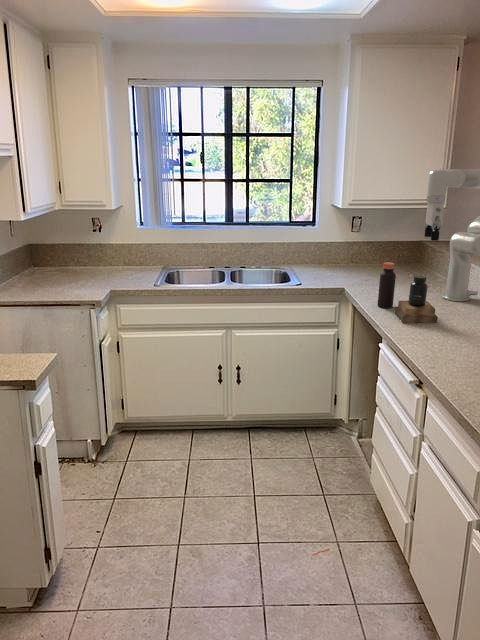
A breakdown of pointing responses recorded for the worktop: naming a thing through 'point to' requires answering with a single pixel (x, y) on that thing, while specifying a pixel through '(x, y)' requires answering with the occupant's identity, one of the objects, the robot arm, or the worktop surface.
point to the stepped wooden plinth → (415, 313)
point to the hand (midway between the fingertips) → (431, 238)
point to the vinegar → (387, 286)
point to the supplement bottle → (418, 291)
